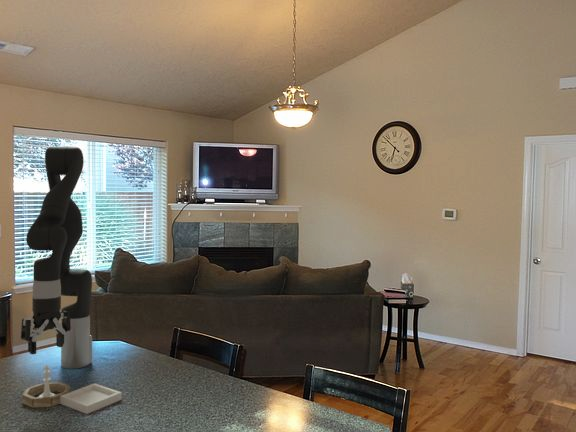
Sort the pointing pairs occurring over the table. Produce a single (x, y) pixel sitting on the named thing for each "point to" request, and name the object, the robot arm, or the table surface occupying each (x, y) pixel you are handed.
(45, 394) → the chess piece
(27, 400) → the holder ring
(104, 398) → the tray
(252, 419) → the table surface
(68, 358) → the robot arm
